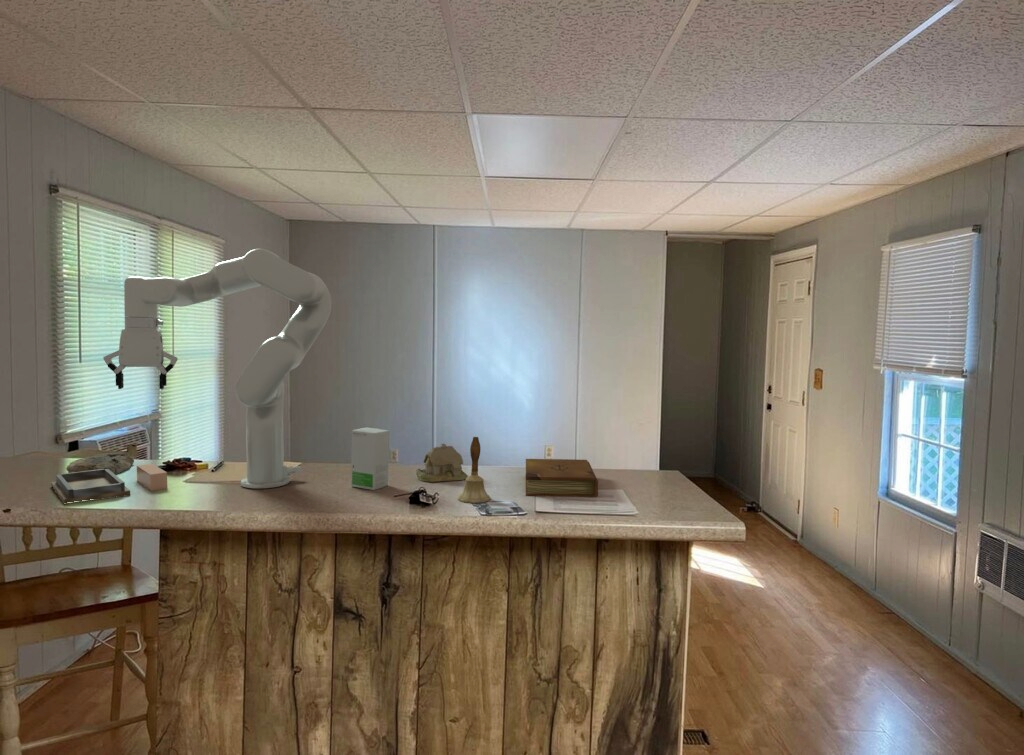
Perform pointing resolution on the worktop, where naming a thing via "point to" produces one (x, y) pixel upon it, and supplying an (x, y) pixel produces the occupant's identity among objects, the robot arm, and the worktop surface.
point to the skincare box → (369, 458)
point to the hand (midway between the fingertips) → (141, 388)
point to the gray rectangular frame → (89, 485)
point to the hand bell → (474, 479)
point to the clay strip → (152, 477)
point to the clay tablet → (102, 462)
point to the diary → (560, 478)
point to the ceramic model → (442, 465)
